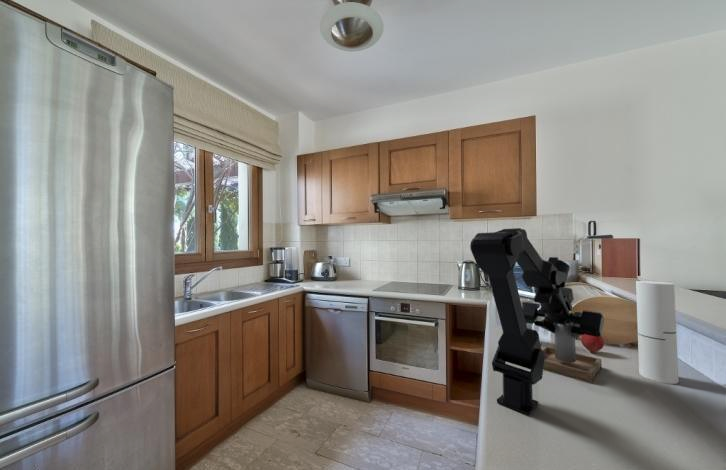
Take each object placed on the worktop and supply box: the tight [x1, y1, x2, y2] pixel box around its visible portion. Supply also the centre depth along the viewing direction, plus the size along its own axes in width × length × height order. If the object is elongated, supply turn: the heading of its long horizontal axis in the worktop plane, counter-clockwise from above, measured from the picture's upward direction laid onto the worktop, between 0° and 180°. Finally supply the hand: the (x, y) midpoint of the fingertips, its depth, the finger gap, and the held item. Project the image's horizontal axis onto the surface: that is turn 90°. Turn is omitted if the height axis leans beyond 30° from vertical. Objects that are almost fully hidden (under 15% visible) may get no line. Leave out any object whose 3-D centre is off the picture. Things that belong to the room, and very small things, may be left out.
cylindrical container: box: [635, 280, 679, 385], centre depth 75 cm, size 7×7×25 cm
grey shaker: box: [554, 322, 577, 363], centre depth 81 cm, size 5×5×13 cm
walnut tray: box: [541, 345, 602, 385], centre depth 80 cm, size 14×14×2 cm
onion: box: [580, 334, 605, 354], centre depth 91 cm, size 6×6×8 cm
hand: (566, 335), depth 81 cm, fingers closed on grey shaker, 5 cm apart
